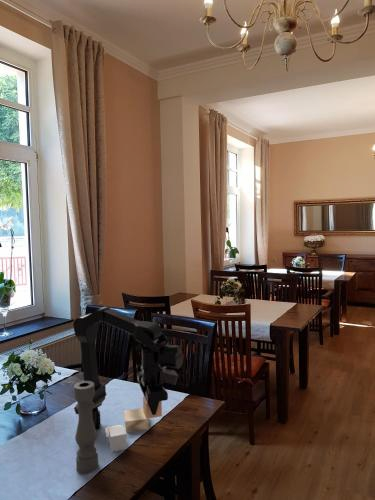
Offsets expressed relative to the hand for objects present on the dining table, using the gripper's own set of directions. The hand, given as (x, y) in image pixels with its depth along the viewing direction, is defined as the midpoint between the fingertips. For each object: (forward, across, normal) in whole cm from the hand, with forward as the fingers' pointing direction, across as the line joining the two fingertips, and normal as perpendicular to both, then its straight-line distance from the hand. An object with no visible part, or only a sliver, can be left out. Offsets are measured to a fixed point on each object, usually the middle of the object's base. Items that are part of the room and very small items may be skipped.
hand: (152, 410), depth 127 cm
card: (+11, +11, +11) cm, 19 cm away
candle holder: (+11, -6, +21) cm, 25 cm away
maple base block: (+11, +13, +3) cm, 17 cm away
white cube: (+11, +2, +11) cm, 16 cm away
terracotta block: (+1, 0, 0) cm, 1 cm away
